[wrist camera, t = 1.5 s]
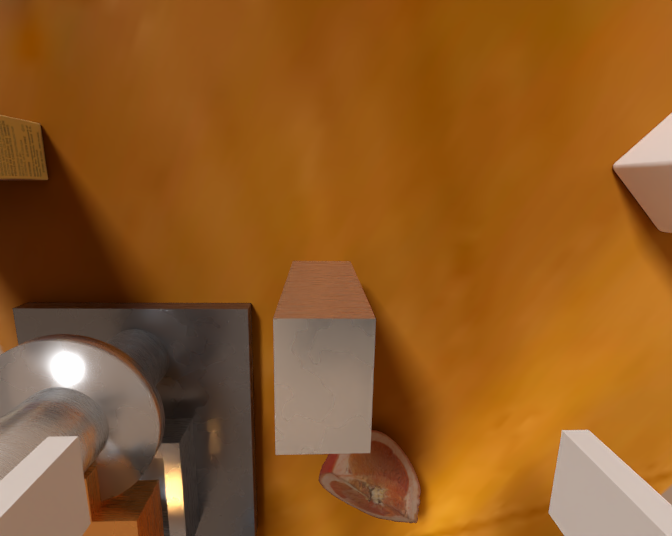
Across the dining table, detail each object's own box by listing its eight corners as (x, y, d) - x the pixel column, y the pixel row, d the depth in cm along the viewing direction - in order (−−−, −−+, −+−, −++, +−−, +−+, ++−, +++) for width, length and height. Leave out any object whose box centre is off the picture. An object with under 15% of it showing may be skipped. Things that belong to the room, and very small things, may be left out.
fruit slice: (425, 453, 34) (443, 497, 29) (377, 505, 34) (387, 558, 30) (350, 402, 32) (356, 440, 27) (303, 459, 33) (301, 505, 28)
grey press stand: (257, 526, 34) (193, 883, 17) (63, 531, 33) (-221, 911, 16) (250, 291, 30) (153, 438, 12) (26, 289, 29) (-427, 446, 11)
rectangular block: (345, 327, 31) (370, 453, 16) (295, 327, 31) (275, 454, 16) (346, 254, 30) (376, 318, 15) (295, 253, 29) (273, 318, 15)
